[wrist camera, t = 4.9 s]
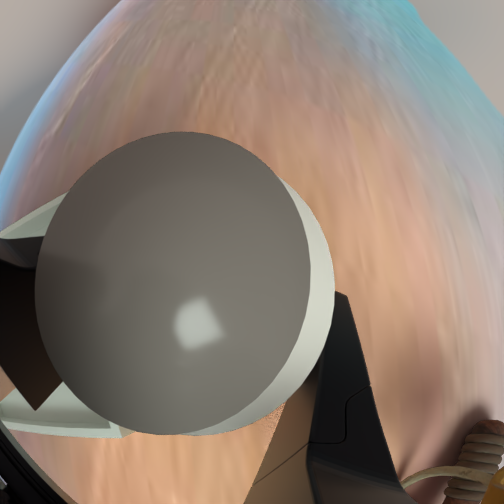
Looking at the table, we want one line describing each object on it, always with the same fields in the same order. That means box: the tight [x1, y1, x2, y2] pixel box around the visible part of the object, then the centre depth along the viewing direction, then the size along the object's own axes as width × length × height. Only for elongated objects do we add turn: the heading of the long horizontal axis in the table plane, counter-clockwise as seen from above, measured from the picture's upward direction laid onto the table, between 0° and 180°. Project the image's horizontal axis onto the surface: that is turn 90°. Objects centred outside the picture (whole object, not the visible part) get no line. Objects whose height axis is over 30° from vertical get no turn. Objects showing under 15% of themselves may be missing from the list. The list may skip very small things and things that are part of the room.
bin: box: [0, 191, 135, 438], centre depth 17 cm, size 16×16×2 cm
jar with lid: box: [35, 132, 335, 436], centre depth 9 cm, size 5×5×12 cm
